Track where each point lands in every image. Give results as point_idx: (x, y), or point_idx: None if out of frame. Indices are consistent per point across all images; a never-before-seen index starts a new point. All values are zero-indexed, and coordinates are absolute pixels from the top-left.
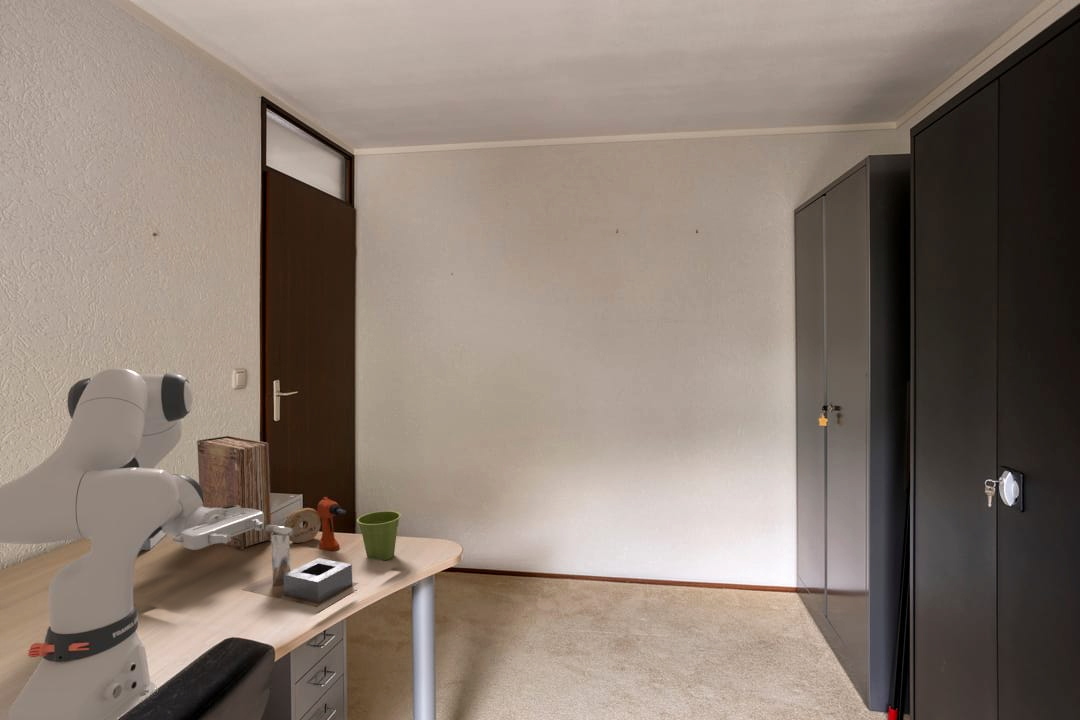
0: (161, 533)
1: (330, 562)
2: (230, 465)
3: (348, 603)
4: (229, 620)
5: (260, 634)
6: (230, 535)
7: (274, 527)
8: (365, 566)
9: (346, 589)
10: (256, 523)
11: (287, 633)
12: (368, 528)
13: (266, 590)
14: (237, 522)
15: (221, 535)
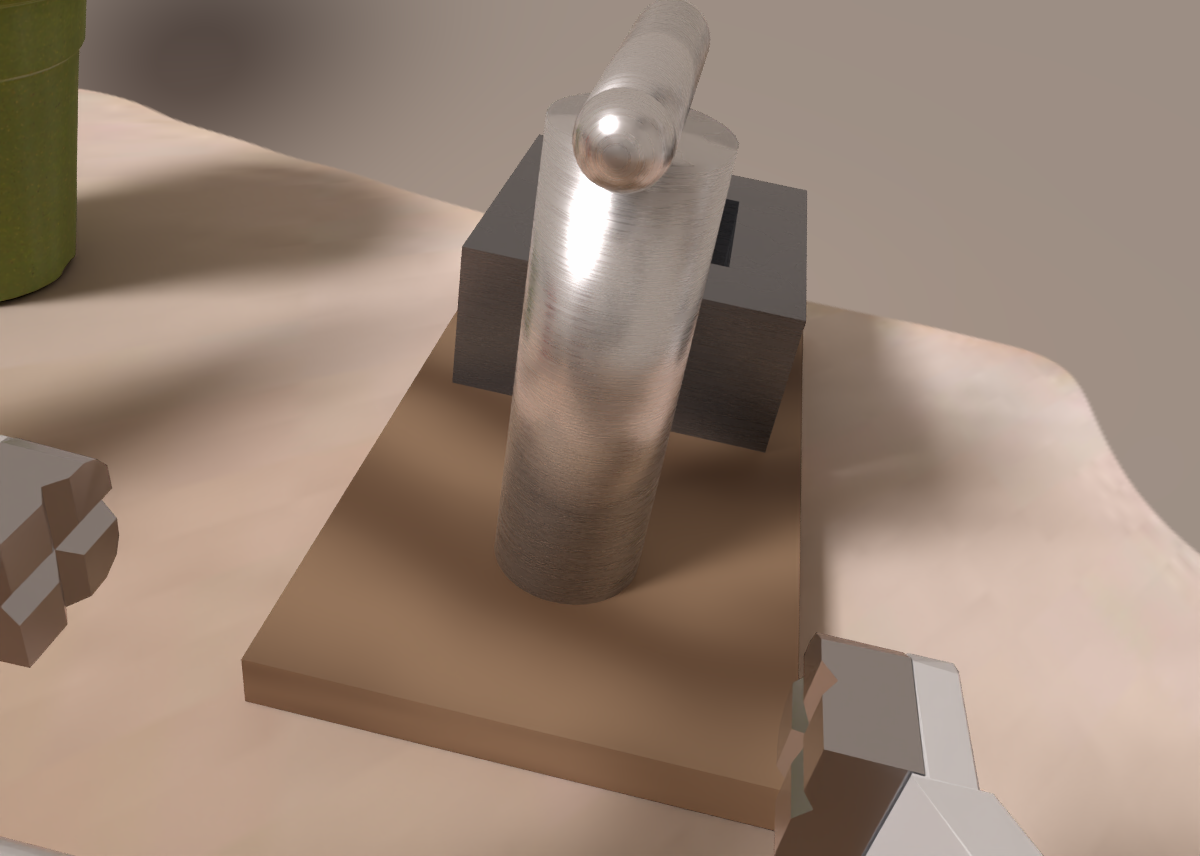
0: None
1: (531, 193)
2: None
3: None
4: (1101, 659)
5: (1073, 448)
6: (826, 636)
7: (679, 68)
8: (145, 296)
9: None
10: (31, 498)
11: (992, 369)
12: (70, 15)
13: (735, 583)
14: (47, 851)
15: (967, 776)
